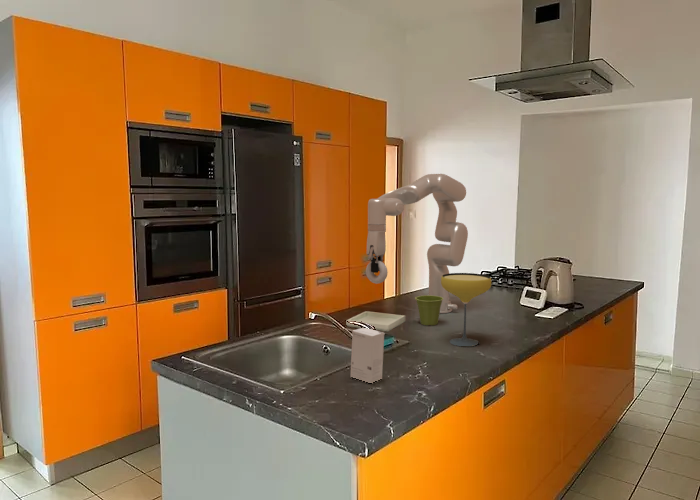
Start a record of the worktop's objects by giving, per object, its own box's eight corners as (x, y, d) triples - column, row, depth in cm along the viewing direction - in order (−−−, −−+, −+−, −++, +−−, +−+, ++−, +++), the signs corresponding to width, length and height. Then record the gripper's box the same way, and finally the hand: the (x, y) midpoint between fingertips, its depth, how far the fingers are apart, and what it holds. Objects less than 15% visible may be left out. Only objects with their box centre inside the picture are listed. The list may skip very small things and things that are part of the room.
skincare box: (350, 378, 158) (350, 330, 157) (362, 373, 163) (362, 326, 161) (372, 385, 153) (372, 335, 151) (384, 379, 158) (384, 331, 156)
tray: (405, 321, 228) (405, 315, 228) (388, 331, 211) (388, 325, 211) (365, 316, 237) (365, 311, 237) (346, 326, 220) (346, 320, 220)
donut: (389, 283, 221) (389, 260, 220) (385, 285, 218) (385, 261, 217) (368, 281, 226) (368, 258, 225) (364, 283, 223) (364, 259, 222)
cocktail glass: (481, 352, 184) (483, 282, 181) (432, 345, 192) (434, 278, 190) (494, 340, 199) (496, 275, 196) (448, 333, 208) (450, 271, 205)
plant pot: (419, 319, 232) (420, 294, 231) (446, 322, 227) (446, 296, 225) (410, 325, 221) (411, 299, 220) (438, 328, 216) (438, 301, 215)
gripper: (376, 226, 229) (376, 268, 231) (360, 229, 214) (360, 273, 216) (392, 227, 225) (392, 269, 227) (376, 229, 211) (376, 275, 213)
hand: (376, 271), depth 222 cm, fingers closed on donut, 3 cm apart
